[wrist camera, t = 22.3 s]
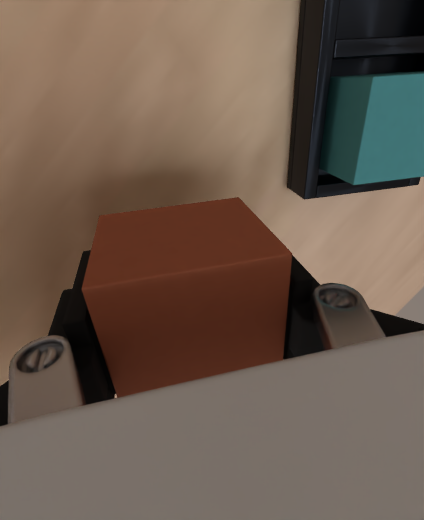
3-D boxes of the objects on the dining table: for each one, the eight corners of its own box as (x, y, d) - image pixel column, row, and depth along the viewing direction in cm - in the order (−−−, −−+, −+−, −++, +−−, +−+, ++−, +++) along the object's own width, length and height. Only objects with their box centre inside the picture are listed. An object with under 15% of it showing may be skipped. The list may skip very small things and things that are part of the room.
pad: (312, 165, 20) (353, 185, 16) (322, 77, 18) (373, 76, 14) (381, 158, 21) (434, 175, 17) (400, 72, 18) (468, 70, 15)
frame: (286, 187, 21) (304, 199, 19) (312, -160, 13) (346, -208, 11) (391, 174, 22) (418, 185, 20) (471, -151, 15) (530, -192, 12)
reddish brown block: (127, 325, 13) (125, 423, 9) (99, 215, 11) (80, 288, 7) (240, 303, 14) (281, 386, 10) (238, 196, 11) (293, 253, 8)
